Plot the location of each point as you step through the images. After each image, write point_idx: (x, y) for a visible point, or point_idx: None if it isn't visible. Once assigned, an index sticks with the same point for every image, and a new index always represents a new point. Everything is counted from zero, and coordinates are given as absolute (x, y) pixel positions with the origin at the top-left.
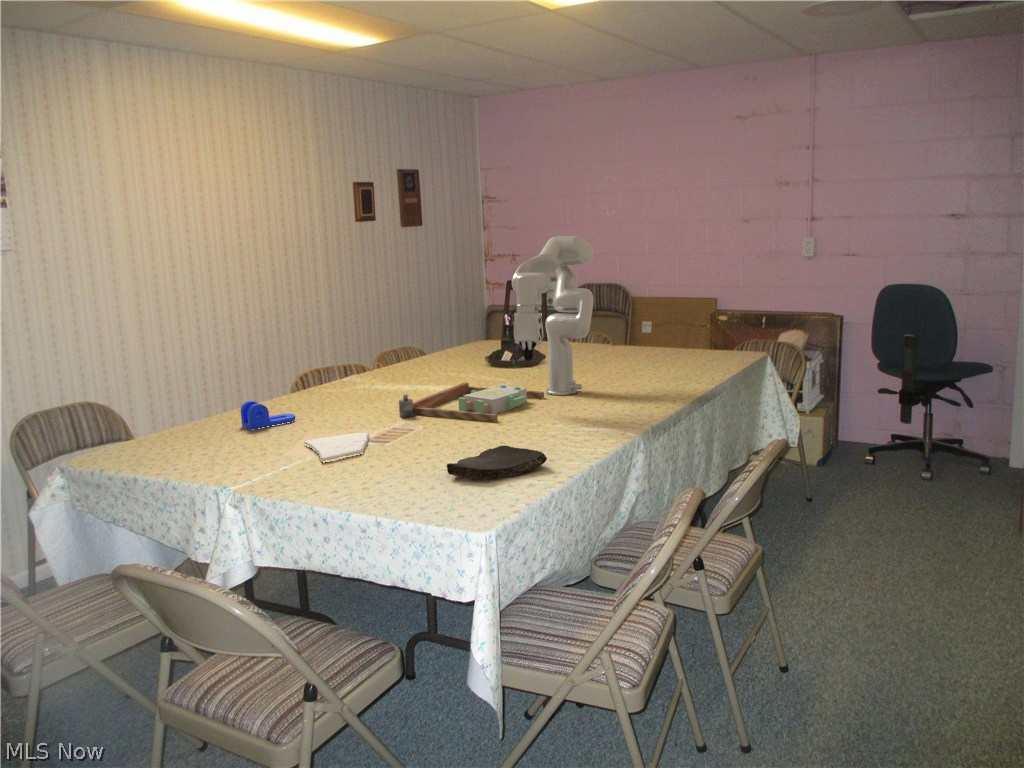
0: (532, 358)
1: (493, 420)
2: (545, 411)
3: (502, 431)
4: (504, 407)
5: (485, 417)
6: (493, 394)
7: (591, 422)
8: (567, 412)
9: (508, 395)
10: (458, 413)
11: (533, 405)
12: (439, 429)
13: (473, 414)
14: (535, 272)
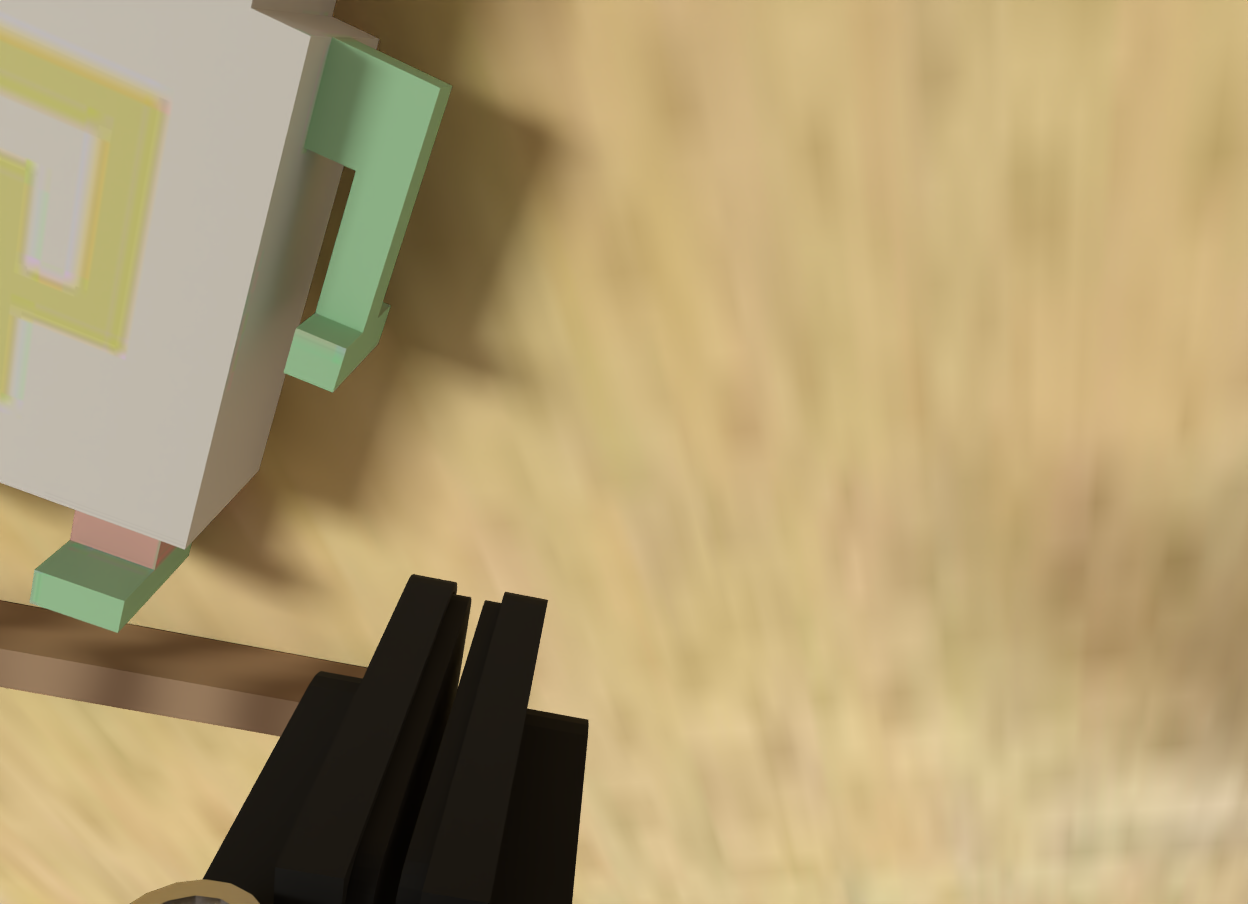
0: (542, 623)
1: None
2: (756, 305)
3: None
4: (287, 326)
5: None
6: (29, 279)
7: (1221, 643)
8: (1005, 322)
9: (251, 292)
10: (26, 682)
11: (543, 6)
12: (111, 878)
13: (180, 711)
14: None
